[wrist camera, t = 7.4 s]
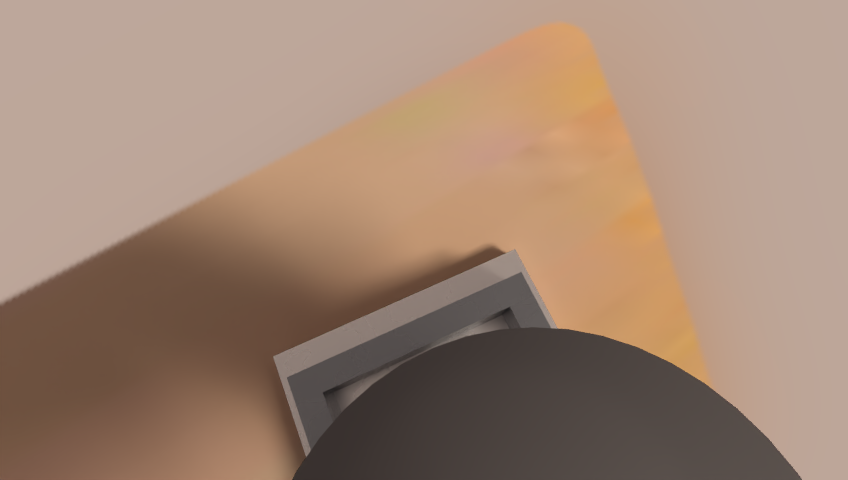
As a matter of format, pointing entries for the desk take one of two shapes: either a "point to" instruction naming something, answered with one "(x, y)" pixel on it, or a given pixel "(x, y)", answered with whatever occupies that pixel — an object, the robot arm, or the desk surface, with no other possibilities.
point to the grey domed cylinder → (541, 417)
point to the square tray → (403, 338)
